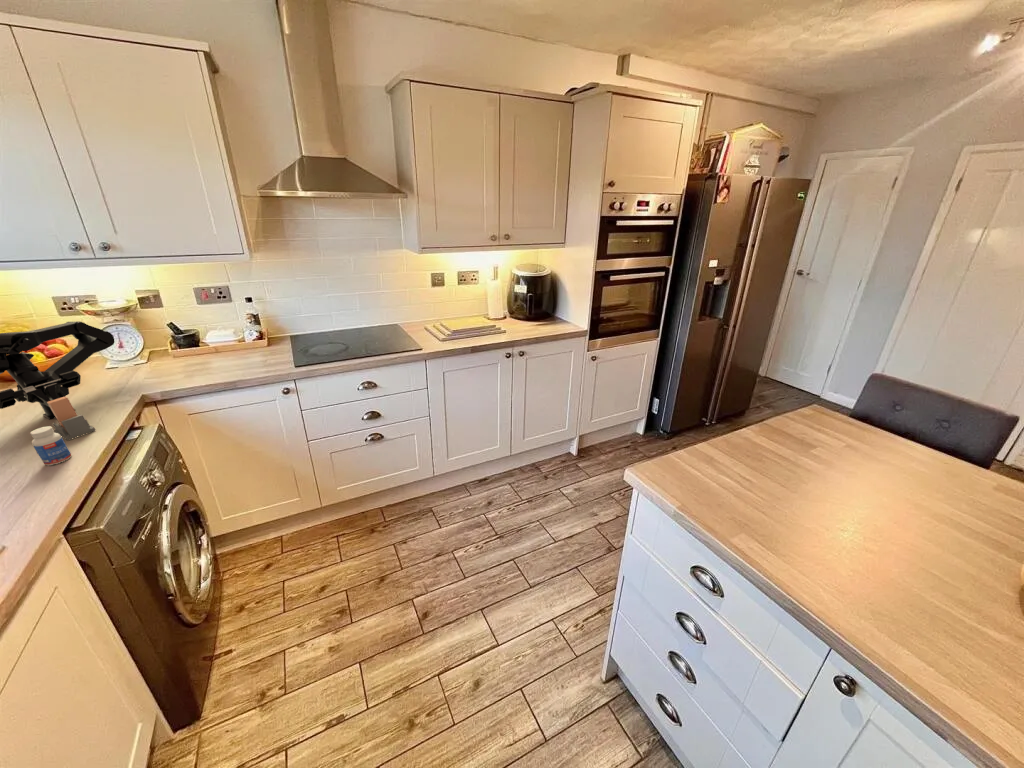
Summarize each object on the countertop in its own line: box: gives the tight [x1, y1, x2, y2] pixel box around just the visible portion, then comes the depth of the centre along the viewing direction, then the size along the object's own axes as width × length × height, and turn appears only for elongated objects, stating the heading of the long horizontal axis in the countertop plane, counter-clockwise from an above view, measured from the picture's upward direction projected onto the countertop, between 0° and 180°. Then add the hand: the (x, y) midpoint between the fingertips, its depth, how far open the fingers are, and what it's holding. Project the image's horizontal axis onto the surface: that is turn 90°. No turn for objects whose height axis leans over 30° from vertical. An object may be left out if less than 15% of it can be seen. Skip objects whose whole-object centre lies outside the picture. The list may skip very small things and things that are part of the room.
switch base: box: [51, 414, 96, 441], centre depth 125 cm, size 10×6×6 cm, turn 62°
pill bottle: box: [30, 425, 72, 466], centre depth 111 cm, size 6×5×10 cm
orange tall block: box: [47, 396, 79, 432], centre depth 124 cm, size 2×4×10 cm, turn 151°
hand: (58, 409), depth 127 cm, fingers closed
